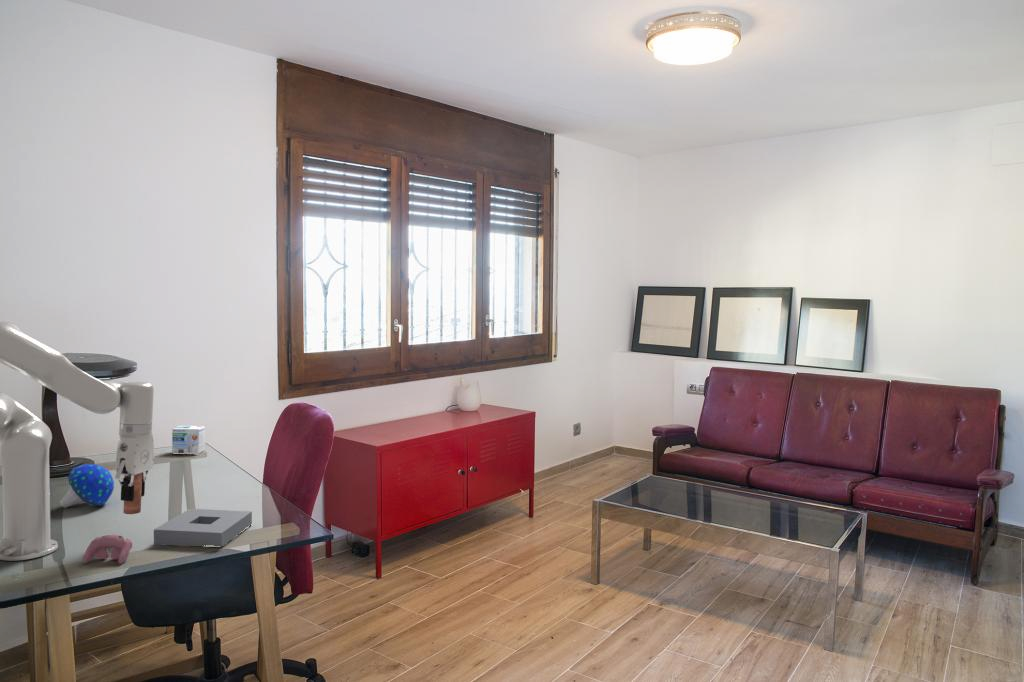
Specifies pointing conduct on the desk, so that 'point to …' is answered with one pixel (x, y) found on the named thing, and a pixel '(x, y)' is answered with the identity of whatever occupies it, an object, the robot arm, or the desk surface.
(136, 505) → the dowel
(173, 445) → the light bulb box
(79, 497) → the mushroom
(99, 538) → the video game controller
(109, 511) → the desk surface
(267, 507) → the desk surface
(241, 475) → the desk surface
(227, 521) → the socket plate
